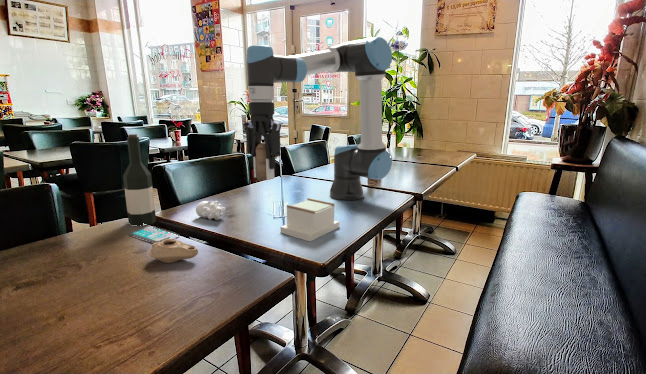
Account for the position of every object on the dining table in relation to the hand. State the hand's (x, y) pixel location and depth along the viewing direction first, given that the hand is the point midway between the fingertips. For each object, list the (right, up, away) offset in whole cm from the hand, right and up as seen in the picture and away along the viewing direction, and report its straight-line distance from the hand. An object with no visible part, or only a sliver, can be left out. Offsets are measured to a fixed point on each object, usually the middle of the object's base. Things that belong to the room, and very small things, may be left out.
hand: (264, 177), depth 109 cm
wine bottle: (-44, -15, +11) cm, 47 cm away
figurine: (-22, -14, +15) cm, 30 cm away
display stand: (+14, -17, +6) cm, 23 cm away
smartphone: (-34, -19, -1) cm, 39 cm away
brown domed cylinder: (0, 0, 0) cm, 0 cm away
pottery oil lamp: (-20, -22, -18) cm, 35 cm away
